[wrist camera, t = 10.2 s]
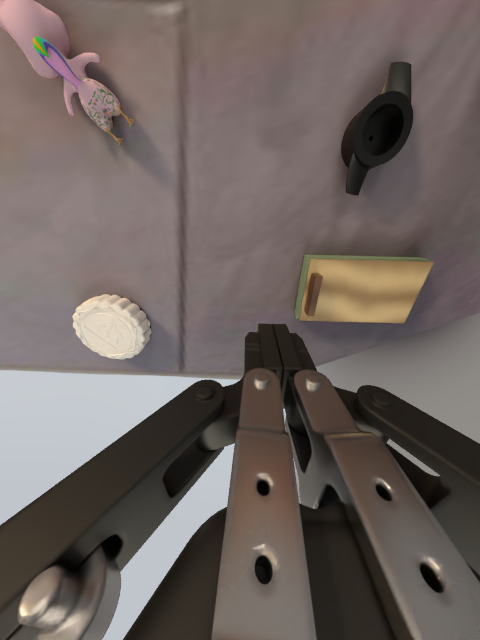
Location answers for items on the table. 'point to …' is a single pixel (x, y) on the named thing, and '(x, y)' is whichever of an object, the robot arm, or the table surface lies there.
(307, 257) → the sliding lid box
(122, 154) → the table surface
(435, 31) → the table surface
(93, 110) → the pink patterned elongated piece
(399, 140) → the black wing nut
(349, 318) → the slide lid
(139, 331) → the mooncake
